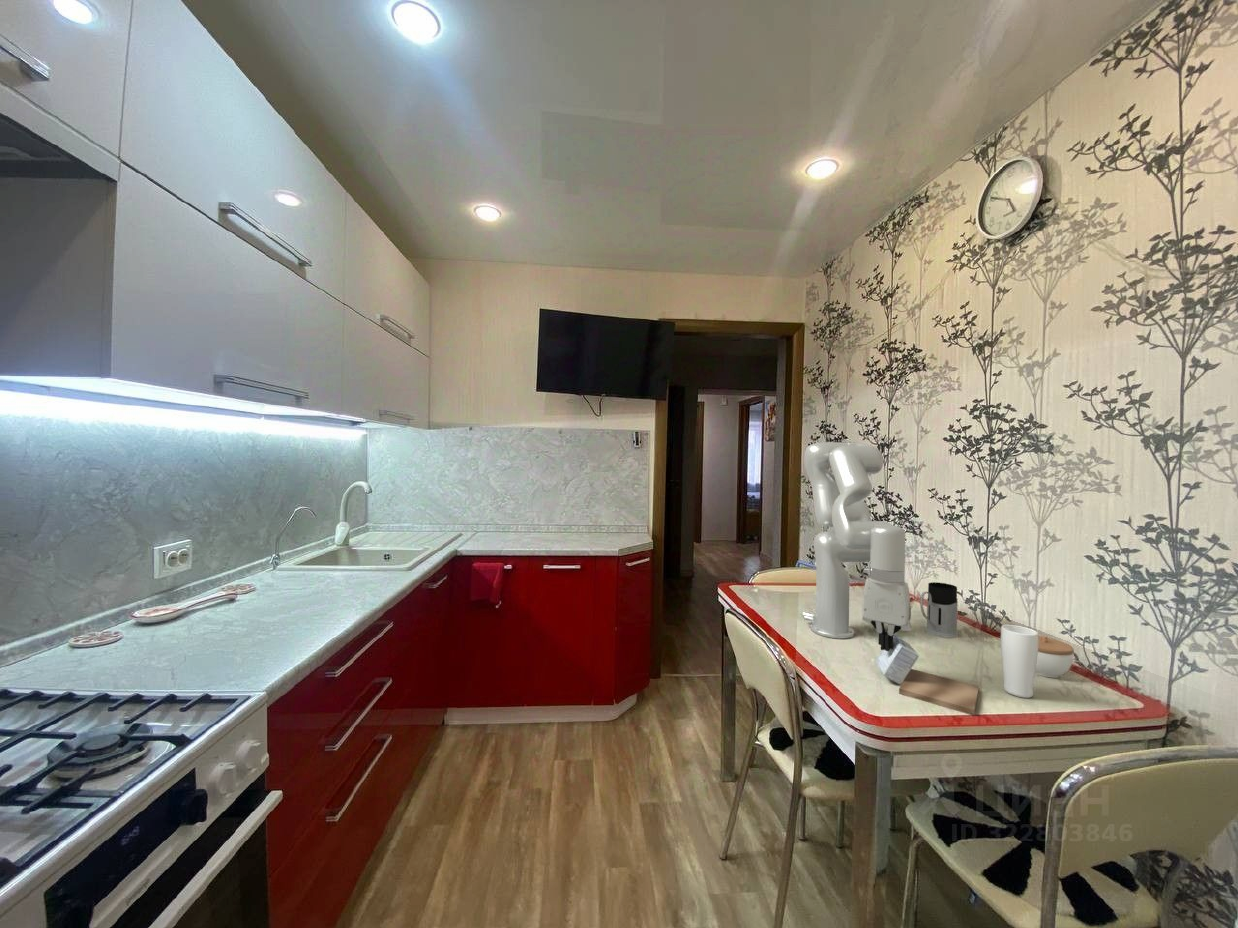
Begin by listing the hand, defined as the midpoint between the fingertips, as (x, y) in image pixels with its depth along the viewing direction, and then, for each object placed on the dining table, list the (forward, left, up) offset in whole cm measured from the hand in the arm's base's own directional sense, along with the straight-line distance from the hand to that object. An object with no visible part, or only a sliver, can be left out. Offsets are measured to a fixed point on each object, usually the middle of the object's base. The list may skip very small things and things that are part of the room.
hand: (885, 648), depth 118 cm
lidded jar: (+30, +31, -8) cm, 44 cm away
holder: (+5, +44, -8) cm, 45 cm away
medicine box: (0, 0, -6) cm, 6 cm away
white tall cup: (+25, +12, -7) cm, 29 cm away
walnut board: (+11, 0, -7) cm, 13 cm away
